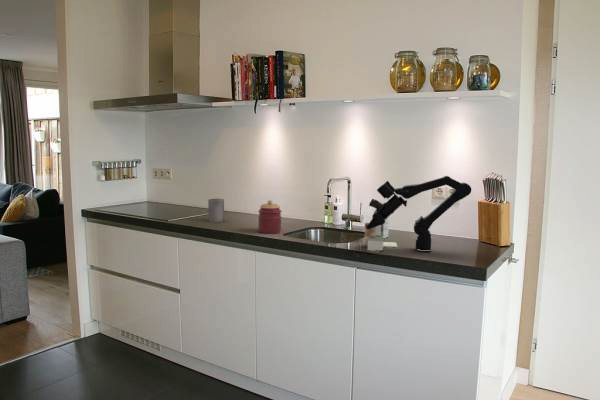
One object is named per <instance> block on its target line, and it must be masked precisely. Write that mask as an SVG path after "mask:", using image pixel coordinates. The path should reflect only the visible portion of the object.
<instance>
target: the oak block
mask: <svg viewBox="0 0 600 400" xmlns="http://www.w3.org/2000/svg"><path fill="white" fill-rule="evenodd" d="M369 223H370V222H364V242H363V243H364V244H368V238H375V230H376V227H373V228H370V229H366V227H367V226H368V224H369Z"/></svg>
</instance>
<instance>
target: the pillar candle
mask: <svg viewBox="0 0 600 400" xmlns="http://www.w3.org/2000/svg"><path fill="white" fill-rule="evenodd" d="M207 201H208V206H207V207H208V222H209V223H223V222H225V199H223V198H210V199H208V200H207Z"/></svg>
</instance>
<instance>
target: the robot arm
mask: <svg viewBox="0 0 600 400" xmlns="http://www.w3.org/2000/svg"><path fill="white" fill-rule="evenodd" d="M444 186H448V187H450V188H452V189H453V191H451V193H450V194H449V196H448V197H447V198H446V199H445V200H443V201H442V202H441V203H440V204H439V205H438V206H437V207H435V208H434V209H433V210H432V211H431V212H430V213H429V214H427V215H426V216H424V217H423V215H421V216H420V217H419V218H417V219H416V220H414V222H415V223H414V224H413V232H414V234H416V235H418V236H416V239H415V240H414V241H415V242H414V243H415V245H414V249H415V250H416V249H420V250H431V251H432V234H431V231H430V230H429V229H430V228H431V226H432V225H433V223H434V222H435V221H436V220H438V219H439V218H440V217H441V216H442V215H443V214H444V213H445V212H446V211H448V210H449V209H450V208H451V207H453V205H455V204H456V203H457V202H459V201H461V200H463V199H464V198H466V197H468V196H469V195H471V193H472V187H471V185H470V184H468V183H467V182H459V181H458V180H455V179H453V178H452V177H451V176H449V175H444V176H443V177H439V178H435V179H432V180H428V181H424V182H422V183H418V184H417V183H416V184H407V185H403V186H402V187H400V188H399V187H398V188H395V187H394V186H393V185H392V184H391V182H390V181H389V180H386V181H385V182H384V183H383V184H382V185H380V186H379V187H378V188H377V189H376V191H377V192H378V194H380V195H381V196H382V197H383V199H387V201H386V202H383V203H382V202H380V201H379V200H377V199H374V198H371V201H370V202H369V204H368V206H369V207H371V208H374V209H375V210H374V212H373V213H372V217H371V218H372V219H371V220H370V221H369V222H368V223H369V224H368V226H367V227H366V229H370V228H373V227H376V226H379V225H383V224H384V223H385V219H387V218H388V217H389V218H390V216H392V214H394V213H395V211H397V210H398V209H399V208H400V207H401V206H404V207H407V205H408V204H407V203H408V200H407V199H411V198H413V197H415V196H417V195H419V194H420V193H422V192H427V191H430V190H433V189H438V188H441V187H444ZM375 211H377V212H375Z"/></svg>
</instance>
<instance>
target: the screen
mask: <svg viewBox="0 0 600 400" xmlns="http://www.w3.org/2000/svg"><path fill="white" fill-rule="evenodd" d="M383 242H384V239H380V238H368V243H367V250H383V251H384V248H383Z"/></svg>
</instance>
